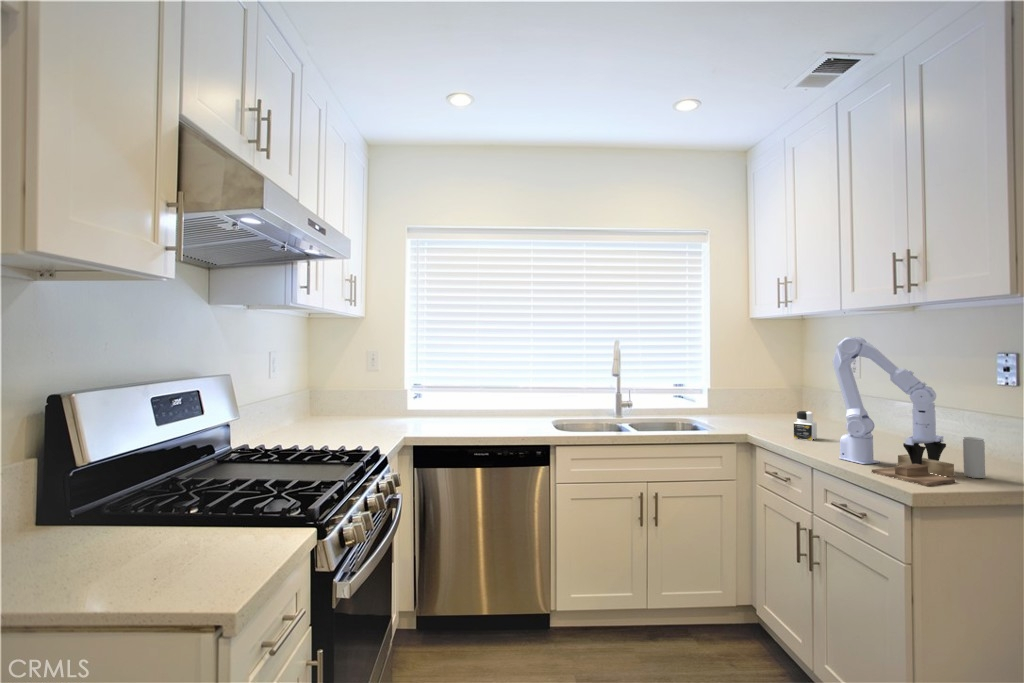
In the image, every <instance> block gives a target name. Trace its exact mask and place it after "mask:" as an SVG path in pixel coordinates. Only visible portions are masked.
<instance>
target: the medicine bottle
mask: <svg viewBox="0 0 1024 683" xmlns="http://www.w3.org/2000/svg"><path fill="white" fill-rule="evenodd" d="M813 413H814V412H812V411H809V410H808V411H806V410H800V411H797V412H796V421H795V422H793V439H794V438H800V439H799V440H801V439H807V440H806V441H809V440H812V441H814V440H816V438H817V439H818V434H817V432H818V429H817V425H818V424H817V422H816V421H814V414H813ZM813 439H814V440H813Z"/></svg>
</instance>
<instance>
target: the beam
mask: <svg viewBox="0 0 1024 683" xmlns="http://www.w3.org/2000/svg"><path fill="white" fill-rule="evenodd" d="M908 464H912V462H911V459H910V456H909V454H908V453H907V454H899V455H897V466H898V465H908ZM922 465H925V466H928V473H933V474H937V475H941V476H949V477H954V476H955V464H954V463H950V462H945V461H940V460H939V461H937V460H932V459H928V457H927V458H926V457H922ZM953 475H954V476H953Z"/></svg>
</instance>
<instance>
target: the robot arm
mask: <svg viewBox="0 0 1024 683" xmlns="http://www.w3.org/2000/svg"><path fill="white" fill-rule="evenodd" d="M877 348H878V347H877ZM877 348H876V346H875V345H873V344H871V342H867V341H866V340H865V339H864V338H863V337H860V336H855V337H852V336H848V337H844V338H843V339H841V340H840V342H838V344H837V345H836V349H835V350H836V351H835V354H834V356H833V360H832V366H833V369H834V372H835V376H836V378H837V381H838V385H839V388H840V393H841V395H842V399H843V402H844V405H845V408H846V414H845V418H846V423H845V428H846V431H847V432H848V433H845V434H843V435H842V436H841V437H840V440H839V457H838V459H840V460H844V461H847V462H853V463H857V464H861V465H870V464H879V462H880V463H881V461H880V460H876V459H874V435H873V433H872V432H873V431H874V429H875V423H874V420H872V418H870V417H871V416H869V414H868V411H867V410H866V409H865V407H864V404H863V401H862V397H861V394H860V392H859V388H858V385H857V382H856V378H855V375H854V372H853V369H852V364H853V362H854V361H855V360H856V359H857V358H858V357H861V358H866V359H870V360H871V361H872V362H874V363H875V364H876V365H877V366H879V368H881V369H882V370H884V372H886V373H887V374H889V376H890V379H889V380H890V381H891V383H893V384H894V385H895V386H897V387H898V388H899V389H900V390H901V391H902V392H903V393H904V394H906V395H909V399H910V401H911V402H912V436H909V437H906V438H904V439H905V440H904V442H903V445H902V446H903V448H904V449H905V451H906V452H907V455H909V456H910V459H911V462H912V464H920V465H922V458H923V457H924V456H923V455H924V453H925V450H926V453H927V459H932V460H937V461H940V459H941V455H942V453H943V451H944V450H945V448H946V447H947V444H946V443H944V436H943V435H937V431H936V430H937V428H936V426H937V425H936V410H935V408H936V405H935V401H936V399H937V393H936V391H935V390H934V389H933V388H932V387H931V386H928V385H927V383H926V382H925V381H921V380H920V379H919V378H917V377H916V375H914V374H915V373H914V372H913V371H912V370H908V369H906V368H899V366H897V365H895V363H894V362H892V361H891V360H890V359H889V358H888V357H887V356H886V355H885V354H883V353H882V352H881V351H880V350H879V349H877ZM920 444H924V446H922V445H920Z"/></svg>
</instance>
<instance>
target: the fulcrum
mask: <svg viewBox="0 0 1024 683" xmlns="http://www.w3.org/2000/svg"><path fill="white" fill-rule="evenodd" d="M872 472H873V473H872ZM871 473H872V474H875V473H877V474H876V475H879V474H881V475H880V476H883V475H885V476H884V477H887V476H889V477H888V478H891V477H894V478H893V479H895V478H898V479H897V480H899V479H903V480H906V481H905V482H907V481H910V482H909V483H911V482H914V483H913V484H915V483H918V484H917V485H919V484H921V485H920V486H923V485H925V487H930V486H929V485H932V486H936V485H935V484H940V485H944V484H943V483H947V484H952V483H951V482H954V483H956V479H955V478H953V477H944V476H939V475H935V474H930V473H928V466H925V465H920V464H908V465H899V466H898V465H895V466H891V467H883V468H873V469H871ZM903 480H902V481H903Z"/></svg>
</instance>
